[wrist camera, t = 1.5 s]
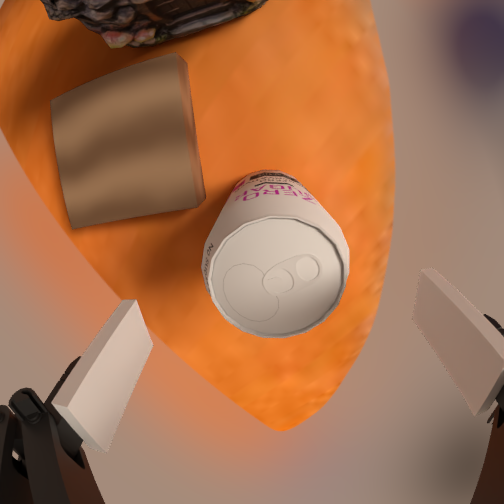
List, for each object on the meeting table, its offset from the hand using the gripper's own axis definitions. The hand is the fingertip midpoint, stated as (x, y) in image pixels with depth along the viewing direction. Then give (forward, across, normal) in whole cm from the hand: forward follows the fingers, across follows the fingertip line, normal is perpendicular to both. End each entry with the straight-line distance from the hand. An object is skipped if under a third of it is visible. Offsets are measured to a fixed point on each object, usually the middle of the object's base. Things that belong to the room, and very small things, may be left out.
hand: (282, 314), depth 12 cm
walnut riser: (+17, -13, +10) cm, 23 cm away
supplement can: (+17, 0, 0) cm, 17 cm away
